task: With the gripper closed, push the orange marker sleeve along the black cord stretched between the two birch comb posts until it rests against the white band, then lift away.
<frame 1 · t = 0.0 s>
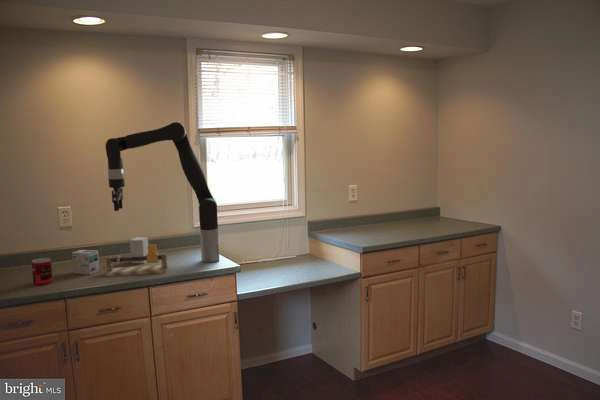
hand: (118, 209, 250), 29 cm above the worktop, tool pointing down, fingers open, 8 cm apart
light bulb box: (86, 272, 242), on the worktop
supplement box: (140, 262, 261), on the worktop
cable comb: (137, 271, 242), on the worktop
marker sleeve: (152, 253, 242), point 9 cm above the worktop, slide at 0.0 cm
canned food: (43, 283, 225), on the worktop
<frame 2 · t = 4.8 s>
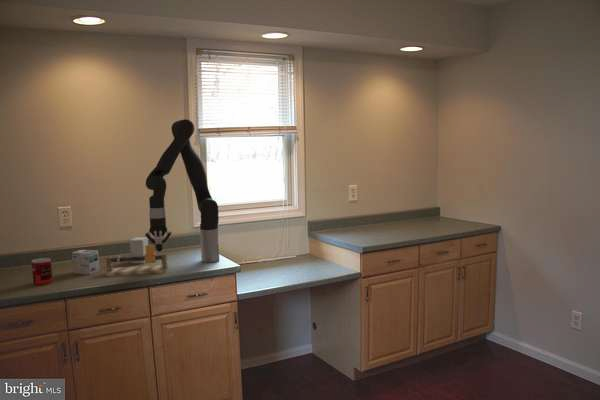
hand: (159, 251, 242), 10 cm above the worktop, tool pointing down, fingers closed
marker sleeve: (150, 253, 242), point 9 cm above the worktop, slide at 1.0 cm, touching gripper
everything else where it was.
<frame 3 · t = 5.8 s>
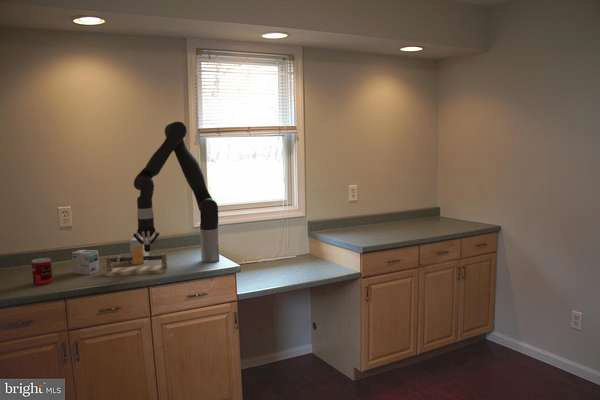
hand: (147, 251, 241), 10 cm above the worktop, tool pointing down, fingers closed
marker sleeve: (138, 254, 241), point 9 cm above the worktop, slide at 6.7 cm, touching gripper
everything else where it was.
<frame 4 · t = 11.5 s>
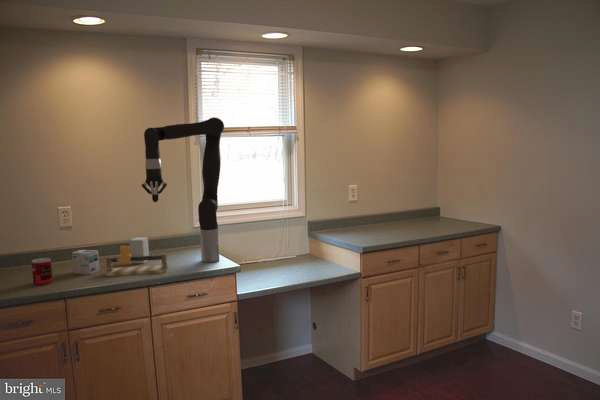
hand: (155, 201, 249), 33 cm above the worktop, tool pointing down, fingers closed
marker sleeve: (125, 254, 240), point 9 cm above the worktop, slide at 12.9 cm
everything else where it was.
at the end: marker sleeve slide at 12.9 cm; marker sleeve 0.2 cm from the target spot on the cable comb, point 8.7 cm above the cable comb's base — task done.
